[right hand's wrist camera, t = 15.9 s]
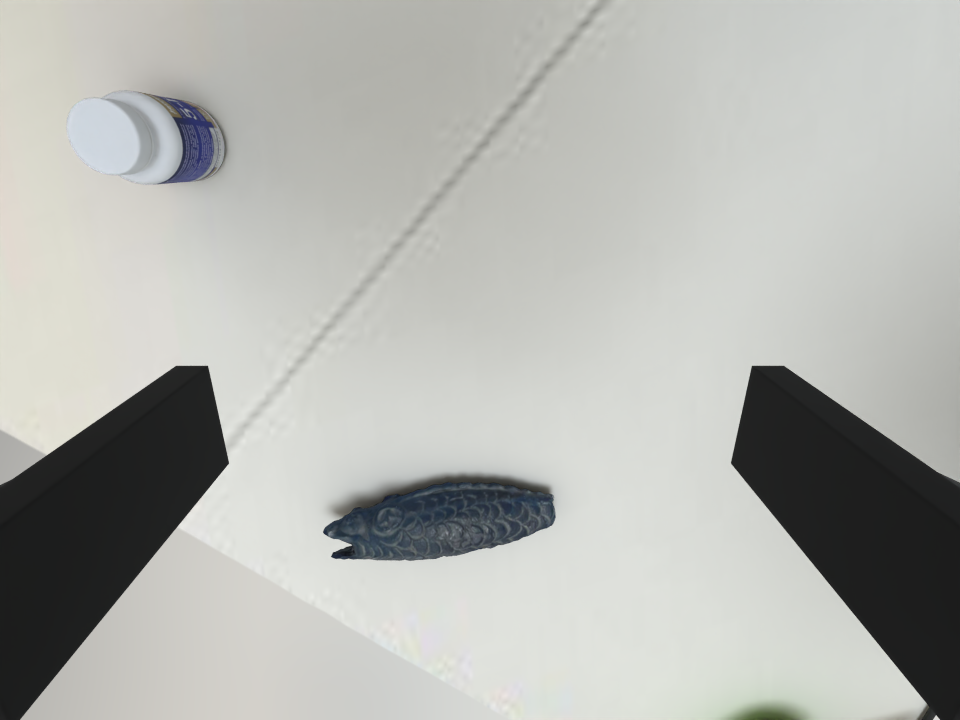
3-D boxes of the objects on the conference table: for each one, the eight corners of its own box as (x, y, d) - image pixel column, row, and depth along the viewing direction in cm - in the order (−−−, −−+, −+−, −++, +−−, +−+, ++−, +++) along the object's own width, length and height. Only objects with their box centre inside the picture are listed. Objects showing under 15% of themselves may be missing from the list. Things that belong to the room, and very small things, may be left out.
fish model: (325, 485, 47) (309, 522, 43) (551, 465, 47) (560, 500, 42) (339, 541, 50) (326, 582, 45) (554, 523, 49) (562, 562, 45)
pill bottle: (225, 107, 36) (148, 92, 27) (228, 185, 37) (157, 194, 29) (147, 94, 35) (45, 76, 27) (154, 174, 37) (61, 179, 29)
